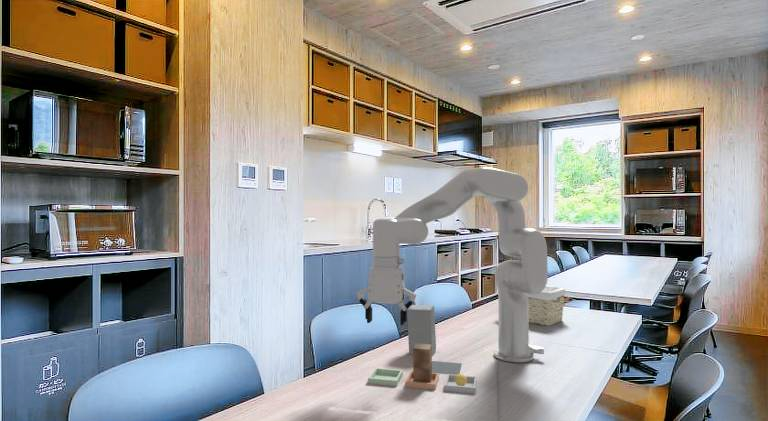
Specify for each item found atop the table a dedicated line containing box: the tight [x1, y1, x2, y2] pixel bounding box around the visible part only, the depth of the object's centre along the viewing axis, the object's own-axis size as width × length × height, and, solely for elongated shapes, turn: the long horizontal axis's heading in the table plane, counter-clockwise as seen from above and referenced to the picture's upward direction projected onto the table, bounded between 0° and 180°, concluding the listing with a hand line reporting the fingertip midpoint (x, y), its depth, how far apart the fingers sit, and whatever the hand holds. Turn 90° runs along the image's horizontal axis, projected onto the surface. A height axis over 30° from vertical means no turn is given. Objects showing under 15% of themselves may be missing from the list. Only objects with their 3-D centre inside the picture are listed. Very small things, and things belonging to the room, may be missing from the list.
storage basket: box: [526, 284, 566, 327], centre depth 196 cm, size 24×16×15 cm
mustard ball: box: [455, 373, 467, 386], centre depth 121 cm, size 3×3×3 cm
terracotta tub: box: [404, 370, 440, 390], centre depth 123 cm, size 8×8×2 cm
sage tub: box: [367, 367, 404, 387], centre depth 126 cm, size 8×8×2 cm
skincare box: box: [407, 304, 437, 356], centre depth 151 cm, size 8×7×16 cm
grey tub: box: [443, 374, 478, 395], centre depth 121 cm, size 8×8×2 cm
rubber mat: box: [432, 360, 463, 375], centre depth 135 cm, size 10×10×1 cm
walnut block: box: [412, 344, 433, 383], centre depth 123 cm, size 4×4×10 cm
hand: (386, 322), depth 126 cm, fingers open, 9 cm apart
